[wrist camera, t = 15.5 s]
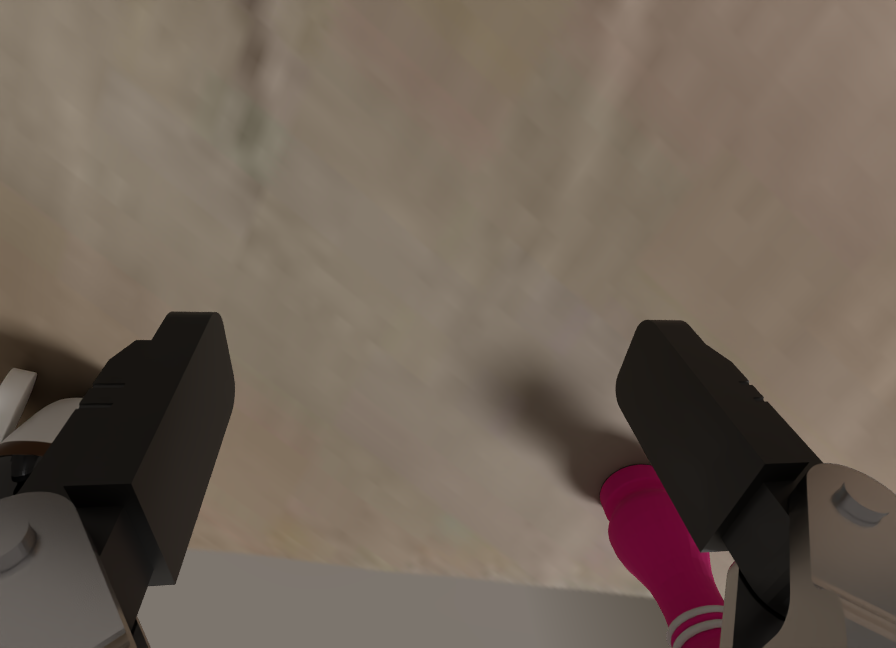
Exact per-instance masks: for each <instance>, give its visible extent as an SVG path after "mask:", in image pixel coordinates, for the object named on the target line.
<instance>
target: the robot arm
mask: <svg viewBox="0 0 896 648" xmlns="http://www.w3.org/2000/svg"><path fill="white" fill-rule="evenodd" d="M234 397H235V382H234V375H233V370H232V365H231V360H230V355H229V350H228V345H227V340H226V335H225V330H224V325H223V321H222V318H221V316H220V314H219V313H217V312H170V313H168V314H167V316H166V317H165V319H164V320H163V322H162V324H161V325H160V327H159V329H158V330H157V332H156V334H155V335H154V337H153V339H152V340H136V341H134V342H133V343H132V344H130V345H129V346H127V347H126V348H125V349H123V350H122V351H121V352H119V353H118V354H116V355H115V356H114V357H112V358H111V359H110V360H109V361H108V362H107V364H106V365H105V366H104V368H103V369H102V371H101V372H100V374H99V375H98V377H97V378H96V380H95V381H94V383H93V388H89V390H88V391H87V393H86V394H85V396H84V397H83V399H82V400H81V401H80V403H79V409H75V410H74V412H73V413H72V415H71V416H70V417H69V419H68V420H67V422H66V423H65V425H64V426H63V428H62V429H61V431H60V432H59V434H58V435H57V436H56V438H55V439H54V441H53V442H52V444H51V445H50V447H49V448H48V450H47V451H46V452H45V454H44V455H43V457H42V458H41V460H40V461H39V463H38V464H37V466H36V467H35V468H34V470H33V471H32V473H31V474H30V476H29V477H28V479H27V480H26V482H25V483H24V485H23V486H22V487H21V489H20V490H19V491H18V493H17V494H16V495H13V496H9V497H6V498H3V499H0V648H151V647H150V645H149V642H148V640H147V638H146V635H145V633H144V631H143V628H142V626H141V624H140V621H139V619H138V617H137V614H138V611H139V608H140V606H141V603H142V600H143V598H144V595H145V592H146V590H147V587H148V586H158V585H159V586H160V585H175V584H176V580H177V577H178V575H179V572H180V569H181V566H182V562H183V559H184V556H185V553H186V550H187V547H188V544H189V541H190V538H191V535H192V532H193V529H194V526H195V523H196V520H197V517H198V514H199V511H200V508H201V505H202V502H203V498H204V495H205V492H206V489H207V486H208V483H209V480H210V477H211V474H212V471H213V468H214V465H215V462H216V459H217V456H218V453H219V450H220V447H221V444H222V440H223V437H224V434H225V431H226V428H227V425H228V422H229V419H230V416H231V413H232V409H233V405H234ZM616 398H617V402H618V405H619V407H620V409H621V411H622V413H623V414H624V416H625V418H626V420H627V422H628V423H629V425H630V427H631V429H632V431H633V432H634V434H635V436H636V438H637V440H638V441H639V443H640V445H641V447H642V449H643V450H644V452H645V454H646V456H647V458H648V459H649V461H650V463H651V465H652V467H653V468H654V470H655V472H656V474H657V476H658V477H659V479H660V481H661V483H662V485H663V486H664V488H665V490H666V492H667V494H668V495H669V497H670V499H671V501H672V503H673V504H674V506H675V508H676V510H677V512H678V513H679V515H680V517H681V519H682V521H683V522H684V524H685V526H686V528H687V530H688V531H689V533H690V535H691V537H692V538H693V540H694V542H695V544H696V546H697V547H698V549H699V551H700V553H703V552H719V551H729V552H730V554H731V555H732V557H733V559H734V560H735V561H734V562H733V564H732V565H731V566H730V568H729V570H728V573H727V579H726V589H725V598H724V608H723V618H722V628H721V638H720V647H719V648H896V495H895V494H894V493H893V492H892V491H891V490H889V489H888V488H887V487H886V486H884V485H883V484H881V483H880V482H878V481H877V480H875V479H873V478H872V477H870V476H868V475H866V474H864V473H862V472H860V471H857V470H855V469H852V468H849V467H847V466H843V465H839V464H832V463H823V462H822V461H821V460H820V459H819V458H818V457H817V456H816V454H815V453H814V452H813V451H812V450H811V449H810V448H809V447H808V446H807V445H806V443H805V442H804V441H803V440H802V439H801V438H800V437H799V436H798V435H797V434H796V432H795V431H794V430H793V429H792V428H791V427H790V426H789V425H788V424H787V423H786V421H785V420H784V419H783V418H782V417H781V416H780V415H779V414H778V413H777V411H776V410H775V409H774V408H773V407H772V406H771V405H770V404H769V403H768V402H764V400H763V398H764V397H763V396H762V395H761V394H760V393H759V392H758V391H757V389H756V388H755V387H754V386H753V385H749V381H748V379H747V378H746V377H745V376H744V375H743V374H742V373H741V372H740V371H739V370H738V368H737V367H736V366H735V365H734V364H733V363H732V362H731V361H730V360H728V359H727V358H725V357H724V356H722V355H721V354H719V353H718V352H716V351H715V350H713V349H712V348H710V347H709V346H708V345H706V344H705V343H704V342H703V341H702V339H701V338H700V337H699V336H698V335H697V334H696V333H695V332H694V330H693V329H692V328H691V327H690V326H689V325H688V324H687V323H686V322H684V321H681V320H644V321H642V322H641V323H640V324H639V325H638V327H637V329H636V331H635V334H634V336H633V339H632V341H631V344H630V346H629V349H628V351H627V354H626V356H625V359H624V361H623V364H622V366H621V369H620V371H619V374H618V377H617V380H616Z"/></svg>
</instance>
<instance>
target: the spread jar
mask: <svg viewBox="0 0 896 648" xmlns="http://www.w3.org/2000/svg"><path fill="white" fill-rule="evenodd" d="M36 377H37V373H36V372H31V371H27V370H22V369H18V368H12V369H11V370H10V371H9V373H8V374H7V376H6V377H5V379H4V380H3V382H2V383H1V385H0V499H3V498H6V497H9V496H13V495H16V494H17V493H18V491H19V490H20V489H21V487H22V486H23V485H24V483H25V482H26V480H27V479H28V477H29V476H30V474H31V473H32V471H33V470H34V468H35V467H36V466H37V464H38V463H39V461H40V460H41V458H42V457H43V455H44V454H45V452H46V451H47V450H48V448H49V447H50V445H51V444H52V442H53V441H54V439H55V438H56V436H57V435H58V434H59V432H60V431H61V429H62V428H63V426H64V425H65V423H66V422H67V420H68V419H69V417H70V416H71V415H72V413H73V412H74V410H75V409H79V403H80V401H81V400H82V399H83V397H73V398H67V399H61V400H58V401H56V402H53V403H51V404H49V405H47V406H46V407H44V408H42V409H41V410H40V411H38V412H37V413H36V414H34V415H33V416H32V417H30V418H29V419H28V420H27V421H26V422H24V423H23V424H22V425H21V426H20V427H18V428H17V429H16V430H15V428H16V426H17V424H18V422H19V420H20V418H21V415H22V413H23V411H24V409H25V406H26V404H27V402H28V399H29V397H30V394H31V392H32V389H33V386H34V383H35V380H36Z"/></svg>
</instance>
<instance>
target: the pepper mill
mask: <svg viewBox="0 0 896 648" xmlns="http://www.w3.org/2000/svg"><path fill="white" fill-rule="evenodd" d="M600 501H601V504H602V507H603V509H604V512H605V514H606V517H607V519H608V520H609V521H610V522H609V528H608V534H609V540H610V543H611V545H612V547H613V549H614V551H615V553H616V555H617V557H618V558H619V560H620V561H621V562H622V563H623V565H624V566H625V567H626V568H627V569H628V571H629V572H631V573H632V574H633V575H634V576H635V577H636V578H637V579H638V580H639V581H640V582H641V583H642V584H643V585H644V586H645V587H646V588H647V589H648V590H649V591H650V592H651V594H652V595H653V597H654V598H655V600H656V601H657V603H658V605H659V607H660V609H661V611H662V613H663V615H664V616H665V619H666V622H667V624H668V627H669V628H668V630H667V633H666V638H667V642H668V644H669V646H670V647H671V648H719V647H720V638H721V628H722V618H723V608H724V600H723V599H722V597H721V595H720V593H719V591H718V589H717V587H716V584H715V582H714V578H713V575H712V571H711V565H710V556H709V552H703V553H700V551H699V549H698V547H697V546H696V544H695V542H694V540H693V538H692V537H691V535H690V533H689V531H688V530H687V528H686V526H685V524H684V522H683V521H682V519H681V517H680V515H679V513H678V512H677V510H676V508H675V506H674V504H673V503H672V501H671V499H670V497H669V495H668V494H667V492H666V490H665V488H664V486H663V485H662V483H661V481H660V479H659V477H658V476H657V474H656V472H655V470H654V468H653V467H652V466H651V465H642V464H639V465H632V466H628V467H625V468H622V469H620V470H619V471H617V472H615V473H614V474H612V475H611V476H610V477H609V478H608V479H607V480H606V482H605V483H604V485H603V486H602V489H601V492H600Z"/></svg>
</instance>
